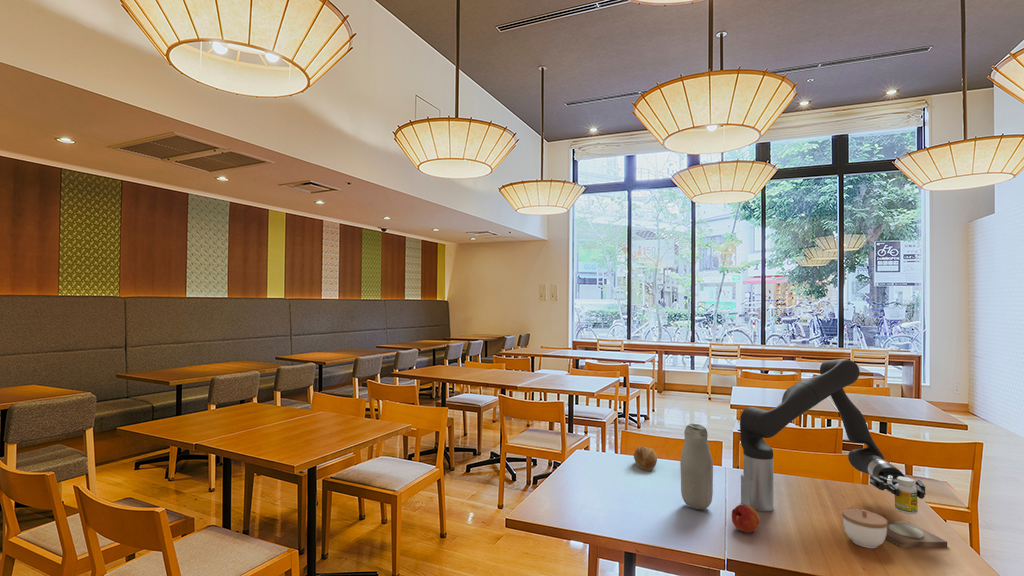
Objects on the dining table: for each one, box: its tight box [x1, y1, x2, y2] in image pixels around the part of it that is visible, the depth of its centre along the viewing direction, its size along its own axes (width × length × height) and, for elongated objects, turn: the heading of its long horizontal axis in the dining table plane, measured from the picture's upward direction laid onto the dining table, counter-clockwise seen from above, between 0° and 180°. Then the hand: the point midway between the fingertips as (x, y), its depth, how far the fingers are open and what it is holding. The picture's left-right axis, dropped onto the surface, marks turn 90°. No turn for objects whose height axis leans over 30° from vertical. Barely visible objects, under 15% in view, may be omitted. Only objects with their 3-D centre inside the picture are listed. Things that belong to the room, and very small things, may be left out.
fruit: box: [731, 503, 761, 534], centre depth 147 cm, size 8×8×8 cm
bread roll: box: [633, 446, 658, 471], centre depth 205 cm, size 10×15×8 cm, turn 169°
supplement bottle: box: [894, 476, 918, 515], centre depth 145 cm, size 5×5×10 cm
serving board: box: [885, 520, 948, 548], centre depth 145 cm, size 14×13×2 cm
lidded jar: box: [841, 508, 888, 549], centre depth 140 cm, size 11×11×9 cm
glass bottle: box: [679, 423, 714, 511], centre depth 164 cm, size 10×10×28 cm
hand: (909, 494), depth 142 cm, fingers closed on supplement bottle, 5 cm apart
